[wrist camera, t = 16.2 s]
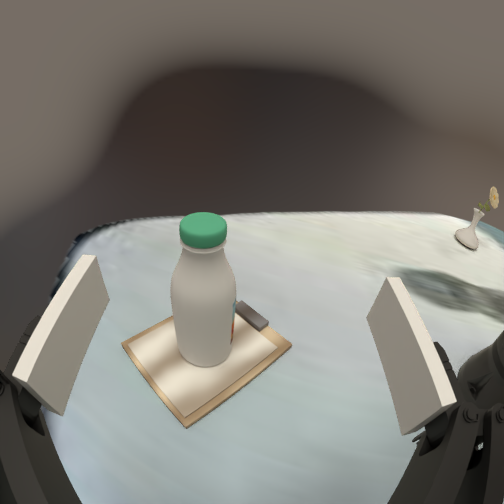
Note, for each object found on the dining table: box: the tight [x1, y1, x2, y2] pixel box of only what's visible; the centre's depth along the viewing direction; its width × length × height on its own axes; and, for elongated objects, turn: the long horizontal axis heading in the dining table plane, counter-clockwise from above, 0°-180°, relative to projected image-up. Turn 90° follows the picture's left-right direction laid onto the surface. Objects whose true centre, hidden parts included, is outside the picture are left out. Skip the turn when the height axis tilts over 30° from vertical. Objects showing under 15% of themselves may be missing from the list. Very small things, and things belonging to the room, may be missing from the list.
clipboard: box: [121, 301, 292, 429], centre depth 38 cm, size 16×20×2 cm
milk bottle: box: [171, 212, 236, 367], centre depth 32 cm, size 8×8×20 cm
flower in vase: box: [455, 187, 499, 249], centre depth 73 cm, size 13×11×25 cm
